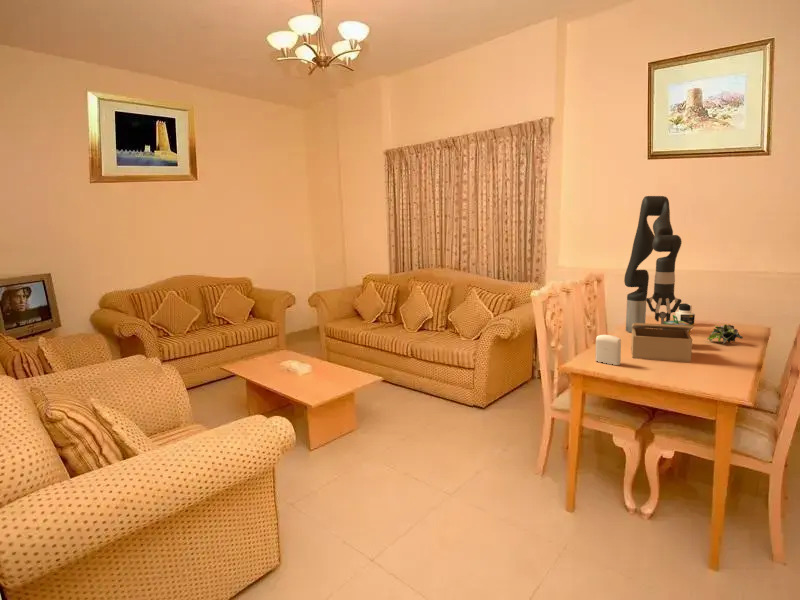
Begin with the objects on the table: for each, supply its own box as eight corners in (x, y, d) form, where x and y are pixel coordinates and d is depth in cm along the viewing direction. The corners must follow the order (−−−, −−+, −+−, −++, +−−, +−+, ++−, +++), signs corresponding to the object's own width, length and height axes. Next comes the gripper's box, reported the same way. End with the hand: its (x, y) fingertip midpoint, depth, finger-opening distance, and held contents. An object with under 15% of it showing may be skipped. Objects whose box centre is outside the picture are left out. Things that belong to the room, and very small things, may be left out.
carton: (631, 348, 215) (632, 327, 214) (685, 351, 206) (686, 330, 204) (632, 357, 201) (633, 336, 199) (690, 362, 192) (692, 339, 190)
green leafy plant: (727, 352, 218) (747, 334, 213) (723, 354, 210) (743, 335, 205) (706, 336, 224) (725, 318, 219) (701, 337, 217) (720, 318, 211)
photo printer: (593, 361, 198) (594, 334, 196) (597, 359, 201) (598, 332, 199) (618, 366, 191) (619, 338, 189) (621, 363, 194) (623, 336, 192)
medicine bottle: (680, 326, 249) (681, 305, 247) (674, 323, 256) (675, 302, 254) (694, 326, 248) (695, 305, 245) (688, 323, 254) (689, 302, 252)
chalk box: (690, 348, 210) (692, 317, 207) (668, 348, 212) (670, 317, 209) (682, 343, 219) (684, 313, 216) (661, 343, 221) (662, 313, 218)
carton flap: (631, 327, 214) (632, 313, 214) (687, 330, 204) (687, 316, 205) (633, 324, 199) (633, 310, 200) (693, 327, 190) (693, 312, 190)
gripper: (682, 281, 194) (679, 320, 197) (645, 280, 200) (643, 318, 203) (684, 283, 188) (682, 324, 191) (646, 283, 194) (644, 322, 197)
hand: (662, 321), depth 197 cm, fingers closed on carton flap, 3 cm apart
